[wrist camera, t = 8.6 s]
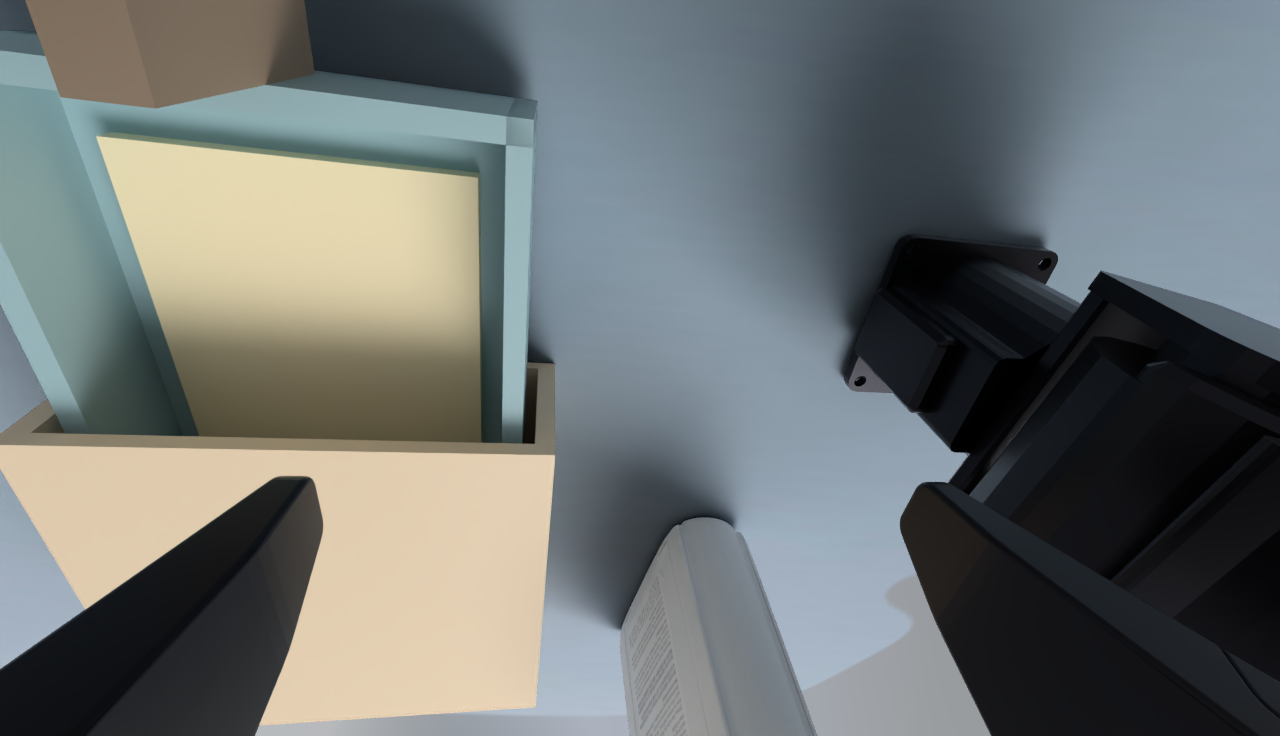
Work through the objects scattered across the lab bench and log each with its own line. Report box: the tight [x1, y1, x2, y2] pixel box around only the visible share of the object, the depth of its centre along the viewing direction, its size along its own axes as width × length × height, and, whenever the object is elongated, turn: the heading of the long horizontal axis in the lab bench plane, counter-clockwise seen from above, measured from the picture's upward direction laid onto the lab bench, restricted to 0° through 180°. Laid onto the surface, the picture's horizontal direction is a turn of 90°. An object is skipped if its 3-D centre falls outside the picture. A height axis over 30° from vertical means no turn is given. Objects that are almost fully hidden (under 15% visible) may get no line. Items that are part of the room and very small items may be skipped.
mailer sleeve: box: [0, 362, 555, 725], centre depth 21 cm, size 14×15×5 cm
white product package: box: [620, 517, 817, 736], centre depth 23 cm, size 10×4×12 cm, turn 162°
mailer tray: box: [0, 0, 538, 444], centre depth 14 cm, size 12×18×7 cm, turn 172°
